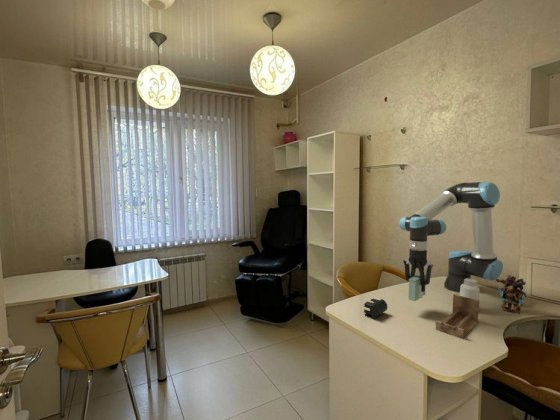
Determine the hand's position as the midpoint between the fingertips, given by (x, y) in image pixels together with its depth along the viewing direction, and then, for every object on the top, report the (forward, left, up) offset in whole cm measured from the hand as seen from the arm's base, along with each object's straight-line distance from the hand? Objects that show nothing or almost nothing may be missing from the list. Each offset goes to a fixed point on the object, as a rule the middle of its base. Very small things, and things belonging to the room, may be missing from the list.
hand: (416, 296), depth 135 cm
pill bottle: (-23, +16, -8) cm, 29 cm away
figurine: (-37, +30, -8) cm, 49 cm away
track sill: (+1, +18, -8) cm, 20 cm away
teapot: (-49, +28, -8) cm, 57 cm away
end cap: (+19, -11, -8) cm, 23 cm away
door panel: (0, 0, 0) cm, 0 cm away
